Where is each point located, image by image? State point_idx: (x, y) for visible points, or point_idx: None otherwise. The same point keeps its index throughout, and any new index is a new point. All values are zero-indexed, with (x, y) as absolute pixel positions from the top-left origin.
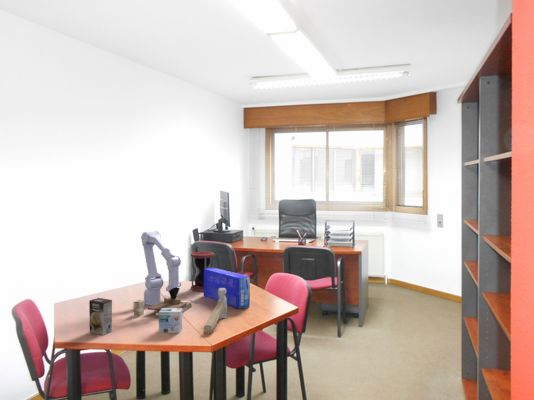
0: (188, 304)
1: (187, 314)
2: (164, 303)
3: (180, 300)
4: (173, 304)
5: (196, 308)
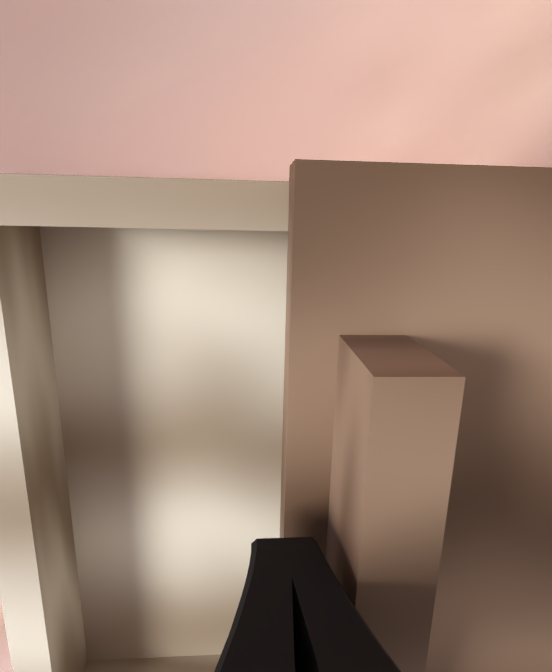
0: (139, 179)
1: (539, 21)
2: (428, 666)
3: (361, 362)
4: (464, 459)
5: (55, 11)
